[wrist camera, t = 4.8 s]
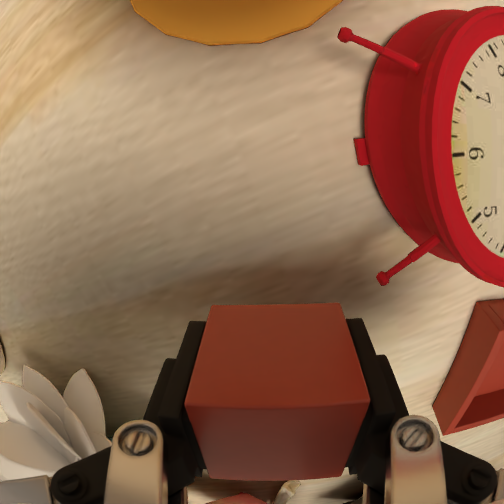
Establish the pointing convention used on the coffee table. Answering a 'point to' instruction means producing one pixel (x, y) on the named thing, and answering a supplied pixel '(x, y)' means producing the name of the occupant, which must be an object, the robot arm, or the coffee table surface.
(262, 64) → the coffee table surface
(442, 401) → the red bin
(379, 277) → the alarm clock
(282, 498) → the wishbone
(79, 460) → the robot arm
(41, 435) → the lotus flower
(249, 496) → the decorative fruit
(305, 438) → the red block
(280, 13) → the table lamp
